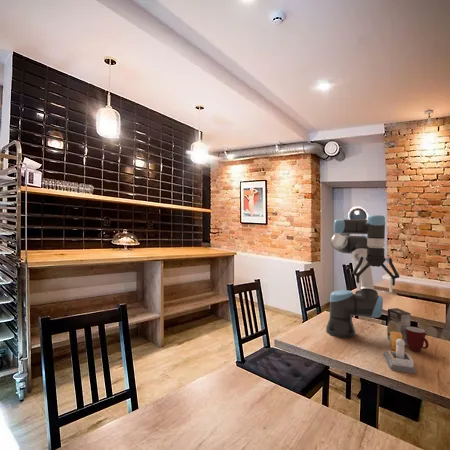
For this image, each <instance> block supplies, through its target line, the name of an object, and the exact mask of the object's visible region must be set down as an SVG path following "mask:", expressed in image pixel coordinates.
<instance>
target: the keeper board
mask: <svg viewBox="0 0 450 450" xmlns="http://www.w3.org/2000/svg"><path fill="white" fill-rule="evenodd" d="M405 346H406V345H405V342H404V340H402V339H397V340H396V358H400V359H404V353H405ZM383 357H384V358H385V361H386V363H387V365H388V367H389V369H390V370H391V371H397V372H404V373H411V374H416V368H415V367H414V366H413V368H406V367H400V366H393V365H391V363H390V361H389V359H388V351H383Z"/></svg>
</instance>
